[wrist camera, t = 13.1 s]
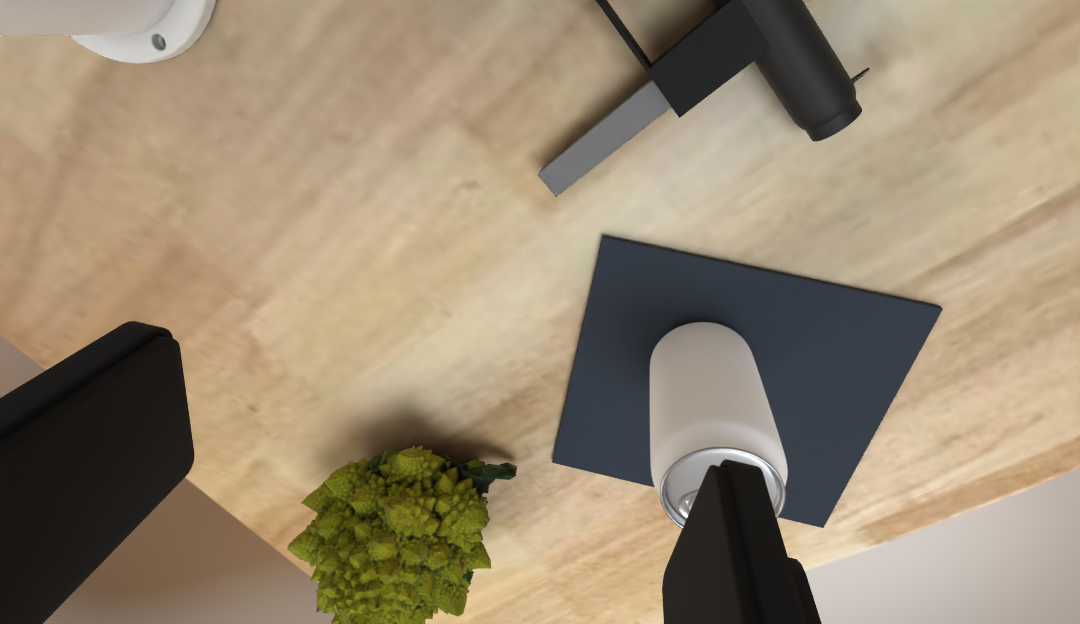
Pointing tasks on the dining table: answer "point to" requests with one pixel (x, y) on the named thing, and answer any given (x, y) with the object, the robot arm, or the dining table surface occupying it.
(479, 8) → the dining table surface
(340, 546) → the vegetable
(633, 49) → the door handle
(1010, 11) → the dining table surface
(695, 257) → the mat
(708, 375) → the can
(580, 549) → the dining table surface
